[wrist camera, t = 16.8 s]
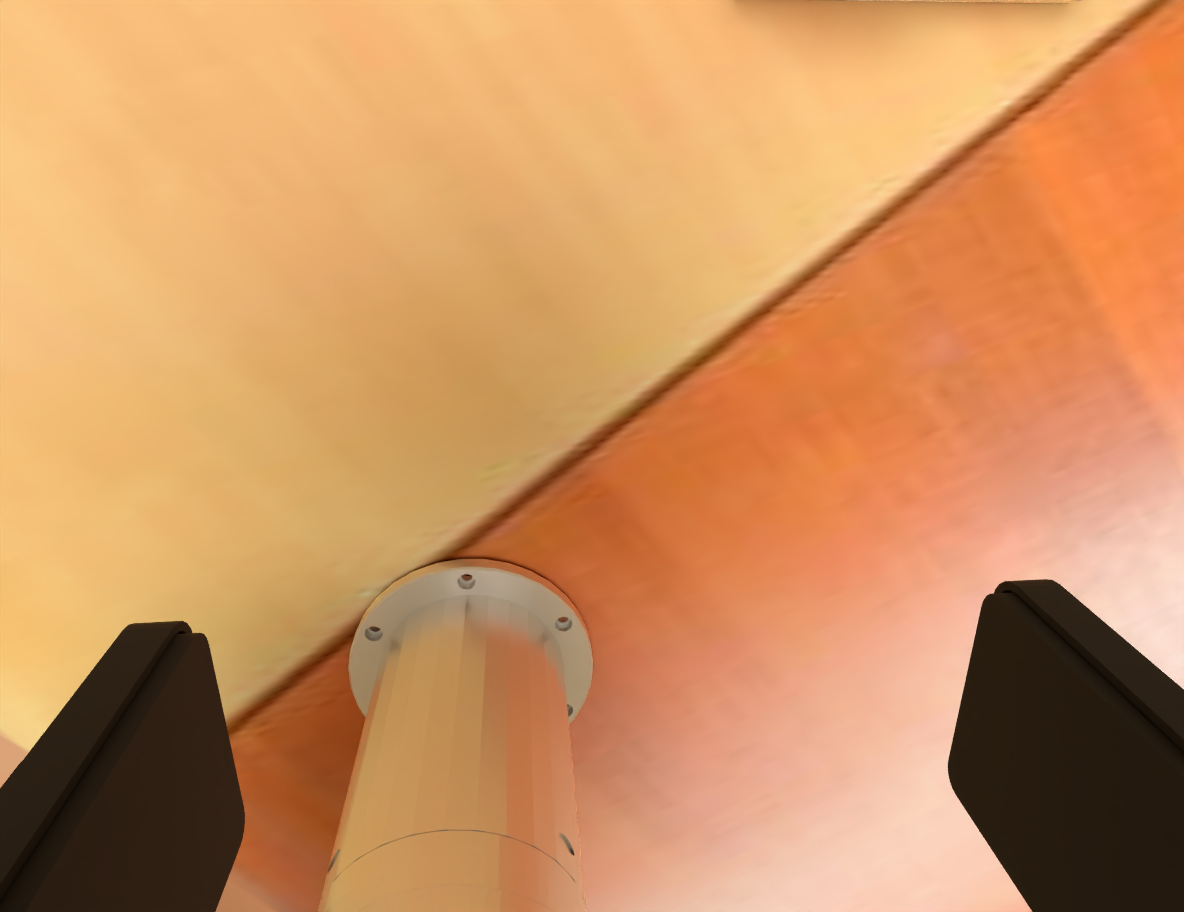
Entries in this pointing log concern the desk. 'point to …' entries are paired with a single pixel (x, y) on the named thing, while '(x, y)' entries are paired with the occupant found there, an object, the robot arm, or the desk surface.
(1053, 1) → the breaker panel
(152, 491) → the desk surface
